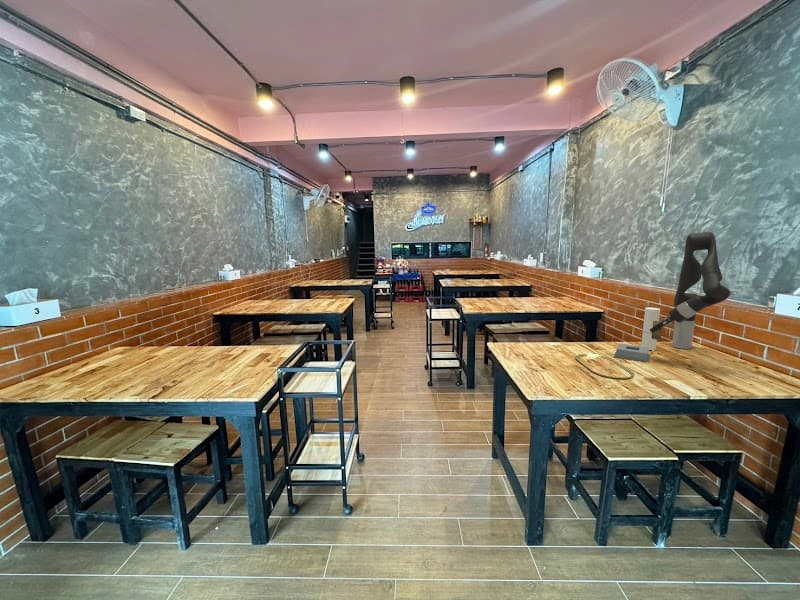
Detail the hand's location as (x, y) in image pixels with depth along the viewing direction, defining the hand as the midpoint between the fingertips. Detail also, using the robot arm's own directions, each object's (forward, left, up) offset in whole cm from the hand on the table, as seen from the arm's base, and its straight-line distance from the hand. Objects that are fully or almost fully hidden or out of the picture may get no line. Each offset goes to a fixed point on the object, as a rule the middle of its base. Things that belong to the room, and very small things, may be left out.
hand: (652, 330), depth 183 cm
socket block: (+1, -8, -16) cm, 18 cm away
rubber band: (+29, -19, -17) cm, 39 cm away
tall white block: (-20, -1, -16) cm, 25 cm away
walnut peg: (0, +2, -4) cm, 5 cm away
